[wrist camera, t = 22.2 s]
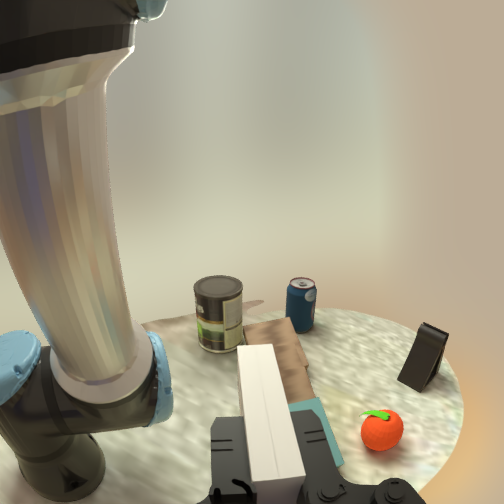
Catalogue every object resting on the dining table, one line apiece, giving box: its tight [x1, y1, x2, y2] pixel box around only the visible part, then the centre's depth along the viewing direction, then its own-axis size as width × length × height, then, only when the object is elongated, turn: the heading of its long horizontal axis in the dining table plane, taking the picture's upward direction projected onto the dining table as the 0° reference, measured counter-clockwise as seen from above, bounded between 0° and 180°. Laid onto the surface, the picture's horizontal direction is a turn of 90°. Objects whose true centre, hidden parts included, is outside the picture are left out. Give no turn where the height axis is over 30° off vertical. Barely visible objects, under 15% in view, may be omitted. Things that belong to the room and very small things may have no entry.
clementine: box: [360, 410, 404, 451], centre depth 41 cm, size 8×7×7 cm
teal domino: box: [288, 397, 344, 468], centre depth 41 cm, size 10×2×12 cm
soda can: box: [285, 277, 317, 333], centre depth 75 cm, size 7×7×12 cm
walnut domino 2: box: [273, 343, 303, 371], centre depth 54 cm, size 10×2×12 cm
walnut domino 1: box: [243, 317, 309, 370], centre depth 62 cm, size 10×2×12 cm
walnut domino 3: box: [279, 366, 316, 404], centre depth 48 cm, size 10×2×12 cm
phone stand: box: [397, 322, 449, 392], centre depth 54 cm, size 9×6×12 cm, turn 125°
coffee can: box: [194, 275, 243, 353], centre depth 69 cm, size 10×10×14 cm
